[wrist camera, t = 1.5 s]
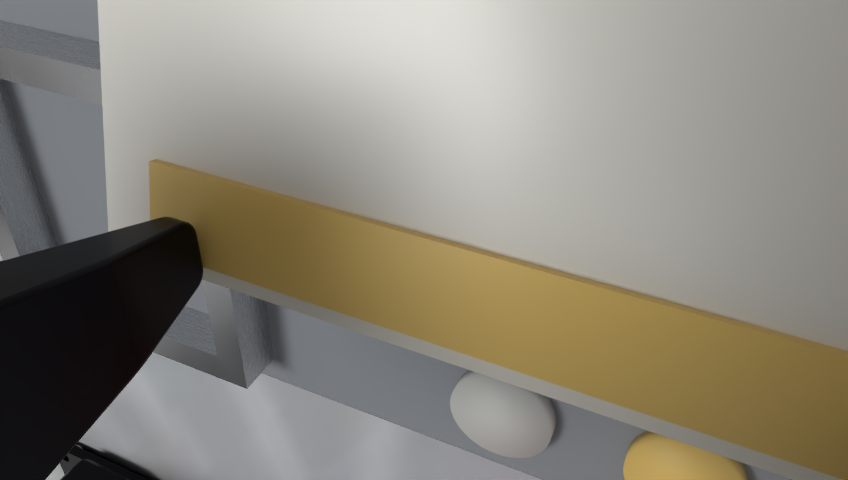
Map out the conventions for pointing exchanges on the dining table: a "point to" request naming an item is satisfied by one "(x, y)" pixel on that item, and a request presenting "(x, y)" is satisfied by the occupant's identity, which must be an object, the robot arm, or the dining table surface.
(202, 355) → the socket
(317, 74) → the yellow-striped white slab
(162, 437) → the dining table surface
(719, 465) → the panel
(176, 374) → the dining table surface
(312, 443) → the dining table surface
